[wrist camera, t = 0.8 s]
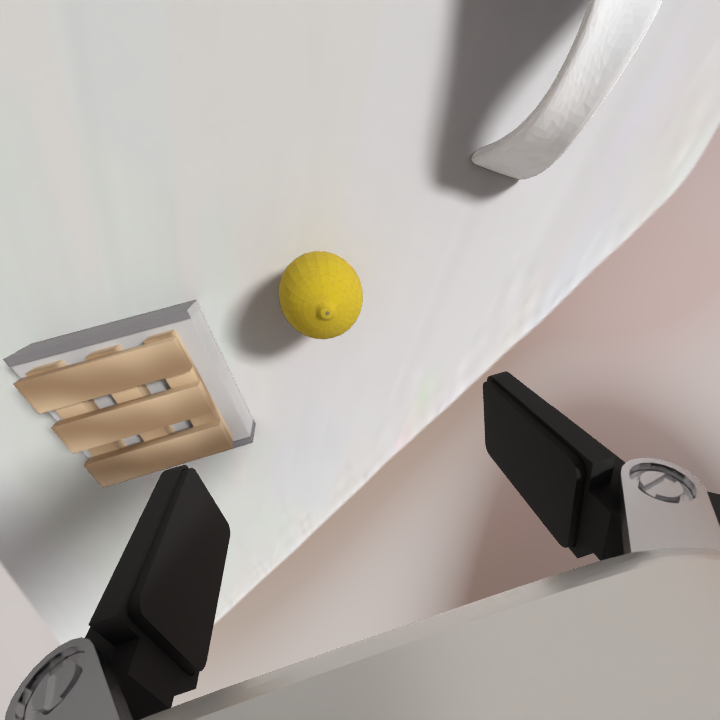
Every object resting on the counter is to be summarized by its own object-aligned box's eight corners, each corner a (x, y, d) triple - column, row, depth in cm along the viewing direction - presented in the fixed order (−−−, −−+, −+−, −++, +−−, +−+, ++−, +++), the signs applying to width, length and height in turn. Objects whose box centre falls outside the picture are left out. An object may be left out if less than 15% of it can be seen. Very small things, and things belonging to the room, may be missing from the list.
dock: (30, 343, 24) (3, 359, 21) (196, 299, 24) (186, 310, 22) (123, 463, 29) (109, 485, 27) (255, 423, 30) (252, 442, 28)
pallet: (31, 368, 22) (10, 381, 20) (179, 327, 23) (171, 337, 21) (115, 472, 27) (104, 489, 25) (236, 436, 27) (232, 450, 26)
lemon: (313, 328, 27) (321, 374, 20) (264, 276, 25) (254, 307, 18) (365, 286, 26) (392, 318, 19) (321, 228, 24) (334, 240, 17)
